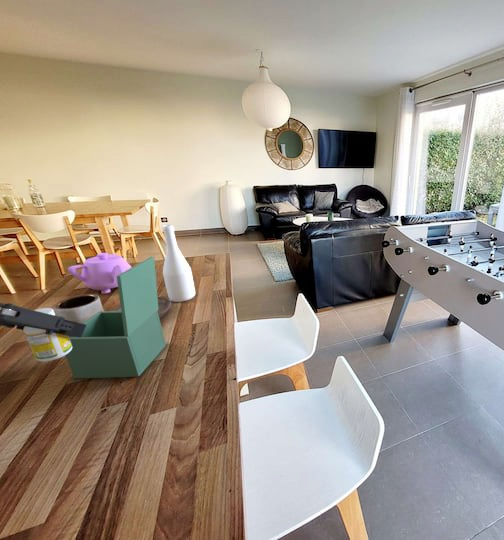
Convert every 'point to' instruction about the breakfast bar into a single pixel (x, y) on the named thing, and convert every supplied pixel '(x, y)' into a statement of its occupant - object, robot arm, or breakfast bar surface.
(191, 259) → the breakfast bar surface
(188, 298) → the wine bottle
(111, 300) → the breakfast bar surface
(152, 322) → the green open box
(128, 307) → the lid
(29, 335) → the supplement bottle
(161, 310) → the plant saucer
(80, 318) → the planter
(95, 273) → the teapot
